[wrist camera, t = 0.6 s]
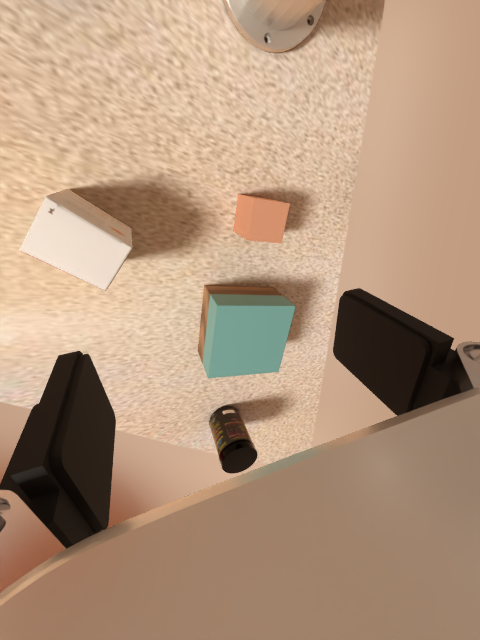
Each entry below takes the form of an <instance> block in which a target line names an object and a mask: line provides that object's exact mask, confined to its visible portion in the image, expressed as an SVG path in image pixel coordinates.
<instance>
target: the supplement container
mask: <svg viewBox="0 0 480 640" xmlns="http://www.w3.org/2000/svg"><path fill="white" fill-rule="evenodd" d="M209 425H210V428H211V432H212V435H213V438H214V442H215V445H216V448H217V452H218V455H219V459H220V462H221V465H222V469H223V470H224V471H225V472H227V473H238V472H241V471H244V470H246V469H247V468H249V467H250V466H251V465H252V464H253V463H254V462H255V461H256V459H257V451H256V449H255V446H254V444H253V442H252V440H251V438H250V436H249V433H248V431H247V429H246V426H245V424H244V422H243V419H242V417H241V415H240V413H239V411H238V410H237V409H236V408H234V407H230V406H226V407H222V408H219V409H218V410H216V411H215V412H214V413H213V414H212V416H211V417H210V421H209Z"/></svg>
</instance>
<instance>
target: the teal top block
mask: <svg viewBox="0 0 480 640" xmlns="http://www.w3.org/2000/svg"><path fill="white" fill-rule="evenodd" d="M295 307H296V306H295V305H294V304H293V303H292V302H290V301H289V300H288V299H287V298H286V297H285V296H278V295H230V294H210V301H209V309H208V318H207V327H206V336H205V345H204V354H203V365H204V368H205V371H206V374H207V377H208V378H215V377H227V376H238V375H249V374H260V373H271V372H279V368H280V364H281V360H282V357H283V353H284V349H285V345H286V341H287V338H288V334H289V330H290V326H291V322H292V318H293V315H294V311H295Z"/></svg>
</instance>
